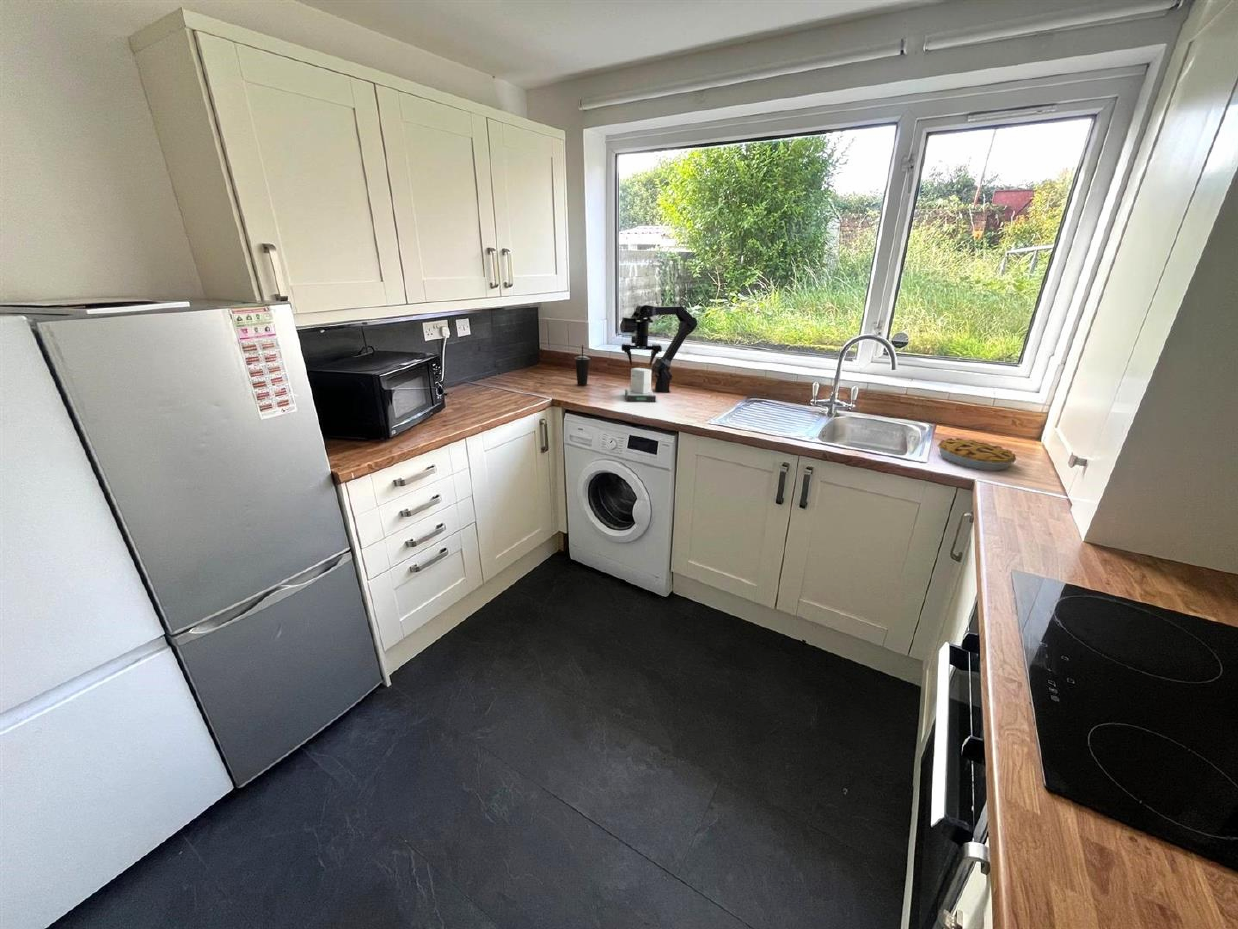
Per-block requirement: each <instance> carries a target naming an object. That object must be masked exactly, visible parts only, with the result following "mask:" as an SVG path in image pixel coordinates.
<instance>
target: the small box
mask: <svg viewBox="0 0 1238 929" xmlns="http://www.w3.org/2000/svg"><path fill="white" fill-rule="evenodd" d="M652 373H653V371H652V369H649V368H644V367H634V368H631V369H630V389H631V390H630V391H632V392H637V393H641V394H645V393H649V392H651V390H652Z"/></svg>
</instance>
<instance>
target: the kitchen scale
mask: <svg viewBox="0 0 1238 929" xmlns="http://www.w3.org/2000/svg"><path fill="white" fill-rule="evenodd" d="M630 390H631V388H626V389H624V396H625V399H626V402H630V403H631V402H632V403H633V402H634V403H656V399H657V396H656V395H655V393H654V391H653V390H652V389H651V392H649V393H645V394H641V393H637V392H632V391H630Z"/></svg>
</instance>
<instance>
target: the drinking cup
mask: <svg viewBox="0 0 1238 929" xmlns="http://www.w3.org/2000/svg"><path fill="white" fill-rule="evenodd" d="M574 360H575V361H574V362H575V373H576V374H575V375H576V384H577V386H578V387H586V386H588V377H589V369H590V360H591V358H590V357H588V356H586V355H584V345H583V344H582V345H581V355H578V356H576V357H574Z"/></svg>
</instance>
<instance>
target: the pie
mask: <svg viewBox="0 0 1238 929" xmlns="http://www.w3.org/2000/svg"><path fill="white" fill-rule="evenodd" d="M937 447H938V449H939V453H940V456H941V458H942V459H943V460H945V461H948V462H950V463H953V464H956V465H959V466H961V467H967V468H971V469H974V470H980V471H987V472H988V471H989V472H990V471H991V472H993V471H994V472H997V471H1002V470H1005V469H1006V468H1008V466H1010V465H1011V464H1013V463H1015V461H1016V460H1017V457H1016V454H1015V453H1013V451H1012V450H1009V449H1008V448H1007V449H1006V448H1003V447H1002V446H1000V445H992V444H990V443H987V442H984V441H983V442H980V441H976V440H974V439H967V440H966V439H962V438H959V437H956V438H955V439H953V438H946V439H945V440H944V439H942V440H941V441H940V442H939V443H938V444H937Z"/></svg>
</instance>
